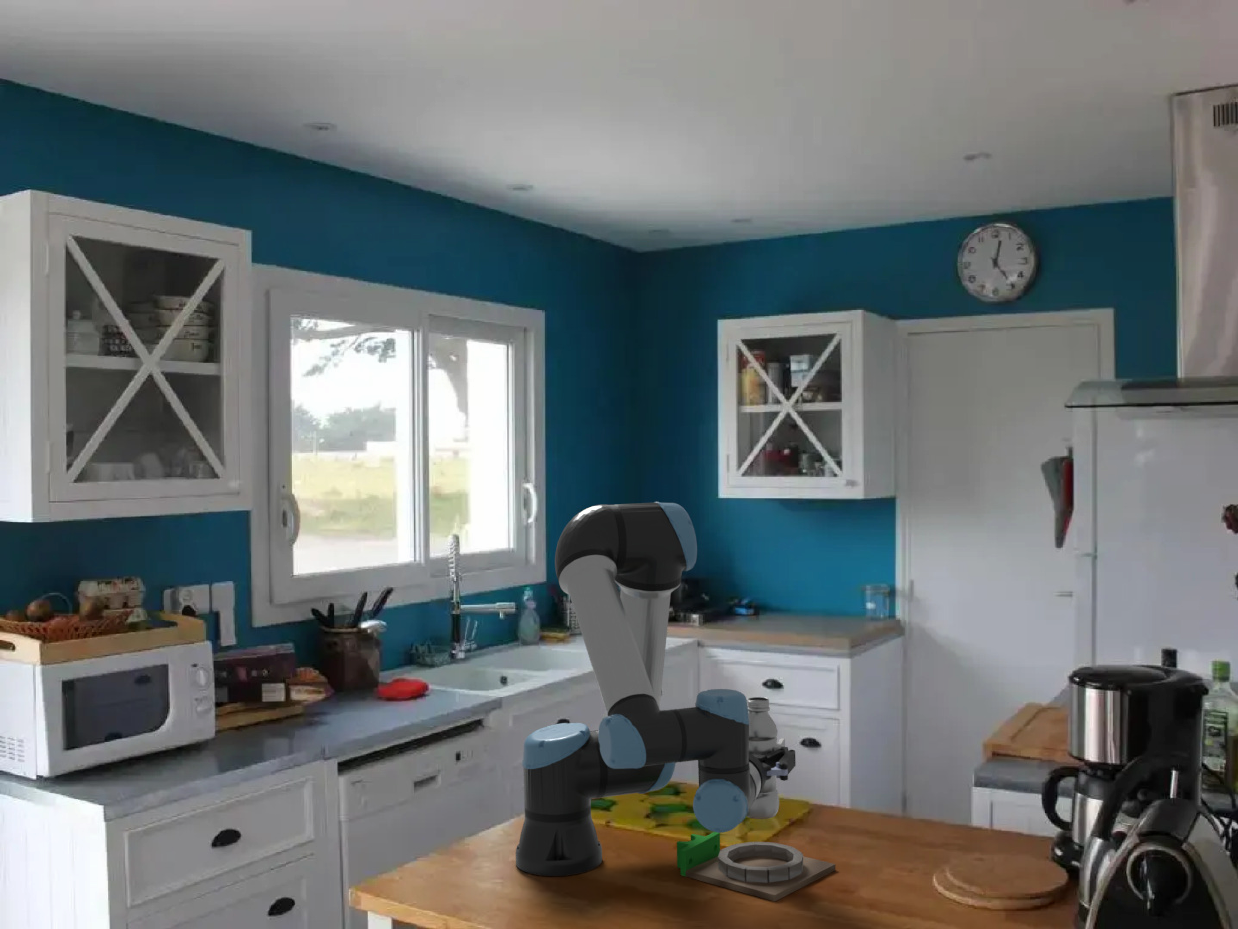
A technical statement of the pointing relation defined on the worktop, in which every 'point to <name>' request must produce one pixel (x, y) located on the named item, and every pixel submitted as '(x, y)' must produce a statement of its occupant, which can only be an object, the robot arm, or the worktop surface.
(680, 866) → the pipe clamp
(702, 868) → the ring board
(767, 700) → the plastic bottle
